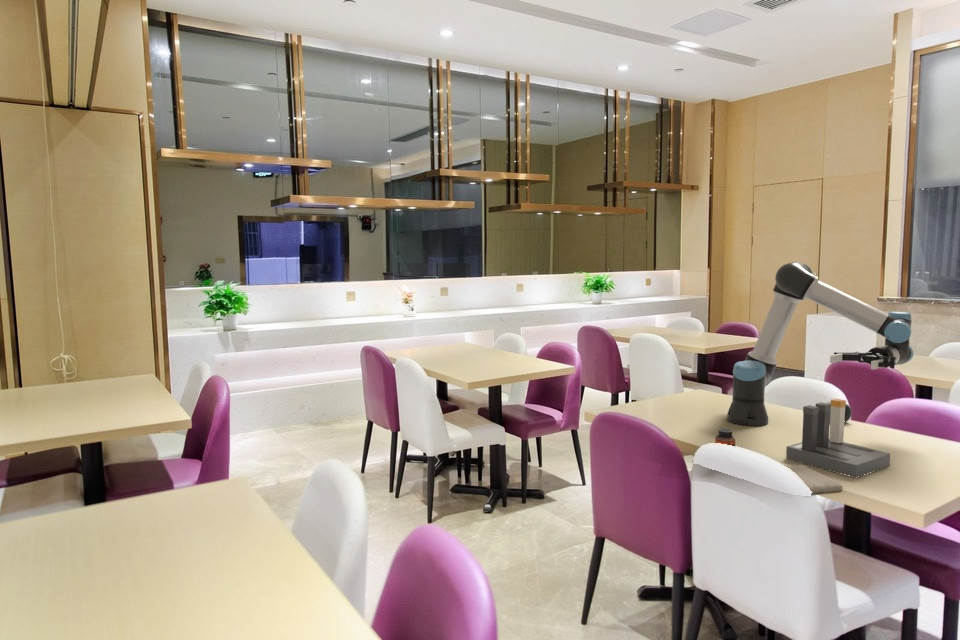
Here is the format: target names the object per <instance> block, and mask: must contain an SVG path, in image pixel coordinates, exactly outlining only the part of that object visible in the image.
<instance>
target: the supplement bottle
mask: <svg viewBox="0 0 960 640" xmlns="http://www.w3.org/2000/svg"><path fill="white" fill-rule="evenodd" d="M714 439H715V440H714V444H715V443H721V444H727V445H732V446H735V447H736V438H735V437H734V436H733V430H732V429H730V428H719V429H718V435H716V436H715V438H714Z"/></svg>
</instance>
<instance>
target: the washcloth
mask: <svg viewBox="0 0 960 640" xmlns="http://www.w3.org/2000/svg"><path fill="white" fill-rule="evenodd" d="M785 466H786V467H788V468H790V469H791V470H792V471H793V472H795V473H796V474H797V475H798V476H799V477H800V478H801V479H802V480H803V481H804V482H805V484H806V485H807V486H808V487H809V488H810V490H811V491H812V492H813V493H812V494H818V493H831V492H840V491H843V485H842V484H841V483H840V482H838V481H836V480H834V479H831V478H830V477H828V476H826V475H824V474H821V473H820V472H818V471H816V470H814V469H811V468H809V467H808V466H805V465H804V464H803V465H802V464H796V465H792V466H791V465H790V466H787V465H785Z"/></svg>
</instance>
